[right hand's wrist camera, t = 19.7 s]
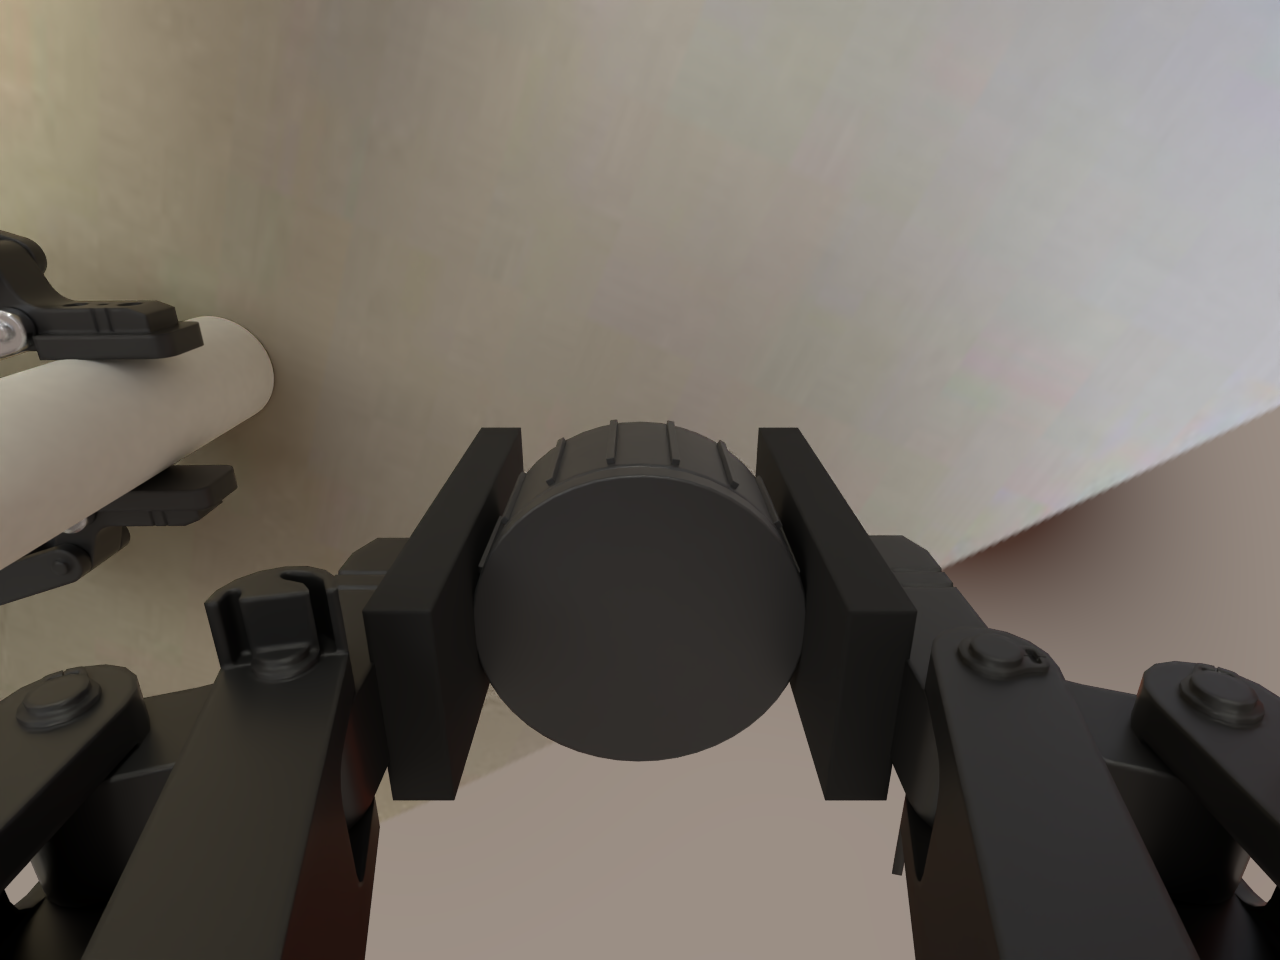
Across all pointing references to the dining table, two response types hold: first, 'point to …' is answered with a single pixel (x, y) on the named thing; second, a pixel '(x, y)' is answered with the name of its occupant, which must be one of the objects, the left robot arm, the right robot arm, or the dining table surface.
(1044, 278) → the dining table surface
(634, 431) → the lid
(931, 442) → the dining table surface
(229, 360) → the bottle
